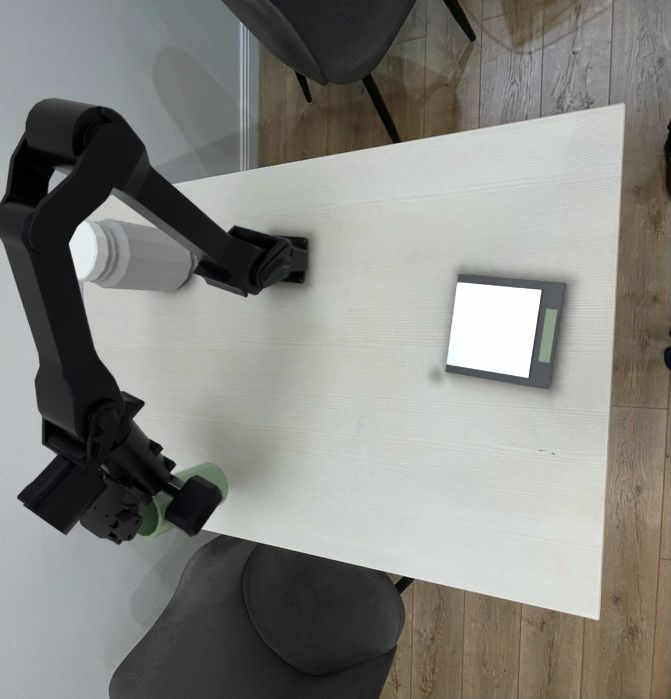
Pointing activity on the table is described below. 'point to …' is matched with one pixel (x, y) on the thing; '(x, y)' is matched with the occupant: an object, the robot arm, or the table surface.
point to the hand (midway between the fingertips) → (176, 507)
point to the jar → (128, 256)
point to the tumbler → (156, 509)
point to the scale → (505, 329)
